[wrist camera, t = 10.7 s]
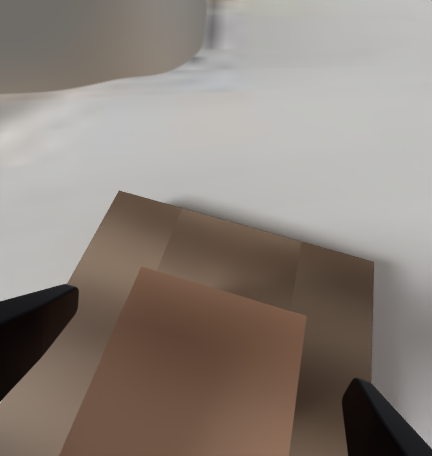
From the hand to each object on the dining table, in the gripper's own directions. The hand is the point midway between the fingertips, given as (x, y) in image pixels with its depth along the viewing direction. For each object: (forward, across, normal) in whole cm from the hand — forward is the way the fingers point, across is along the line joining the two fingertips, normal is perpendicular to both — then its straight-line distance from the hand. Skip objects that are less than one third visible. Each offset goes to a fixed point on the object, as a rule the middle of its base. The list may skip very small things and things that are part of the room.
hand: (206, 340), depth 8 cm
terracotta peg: (+5, 0, +6) cm, 8 cm away
